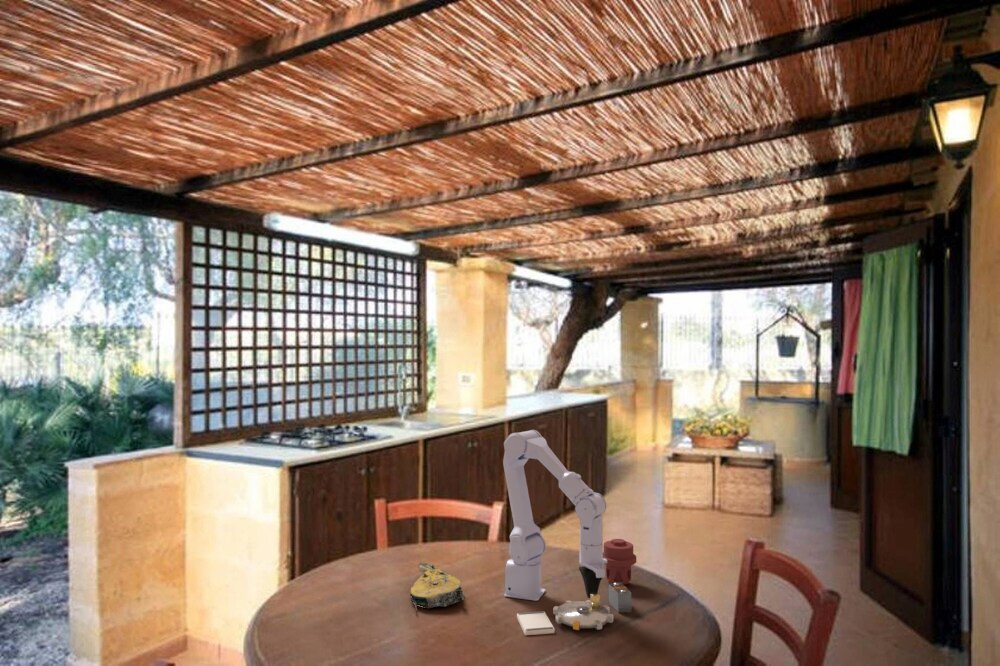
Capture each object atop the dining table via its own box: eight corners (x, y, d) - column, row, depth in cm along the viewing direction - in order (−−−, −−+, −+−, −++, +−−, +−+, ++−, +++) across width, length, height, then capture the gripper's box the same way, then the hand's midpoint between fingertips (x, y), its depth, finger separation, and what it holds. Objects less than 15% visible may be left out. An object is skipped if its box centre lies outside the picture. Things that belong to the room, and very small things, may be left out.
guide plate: (516, 617, 156) (516, 612, 156) (544, 615, 157) (544, 610, 157) (525, 635, 146) (525, 630, 146) (554, 633, 147) (554, 628, 147)
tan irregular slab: (452, 550, 189) (465, 587, 160) (455, 569, 189) (469, 609, 160) (405, 560, 187) (410, 599, 157) (408, 580, 187) (413, 622, 157)
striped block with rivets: (608, 602, 166) (608, 582, 166) (621, 601, 166) (621, 581, 166) (618, 613, 159) (618, 592, 159) (631, 612, 159) (631, 591, 159)
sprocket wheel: (545, 625, 149) (545, 605, 149) (561, 602, 163) (561, 584, 163) (607, 634, 144) (607, 614, 144) (617, 610, 158) (617, 592, 158)
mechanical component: (636, 579, 182) (636, 592, 173) (601, 577, 184) (600, 589, 175) (636, 536, 183) (636, 546, 173) (601, 534, 185) (599, 544, 175)
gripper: (616, 550, 154) (616, 607, 153) (597, 534, 168) (597, 585, 167) (588, 552, 152) (589, 609, 152) (571, 535, 167) (571, 587, 166)
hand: (591, 596), depth 159 cm, fingers closed
